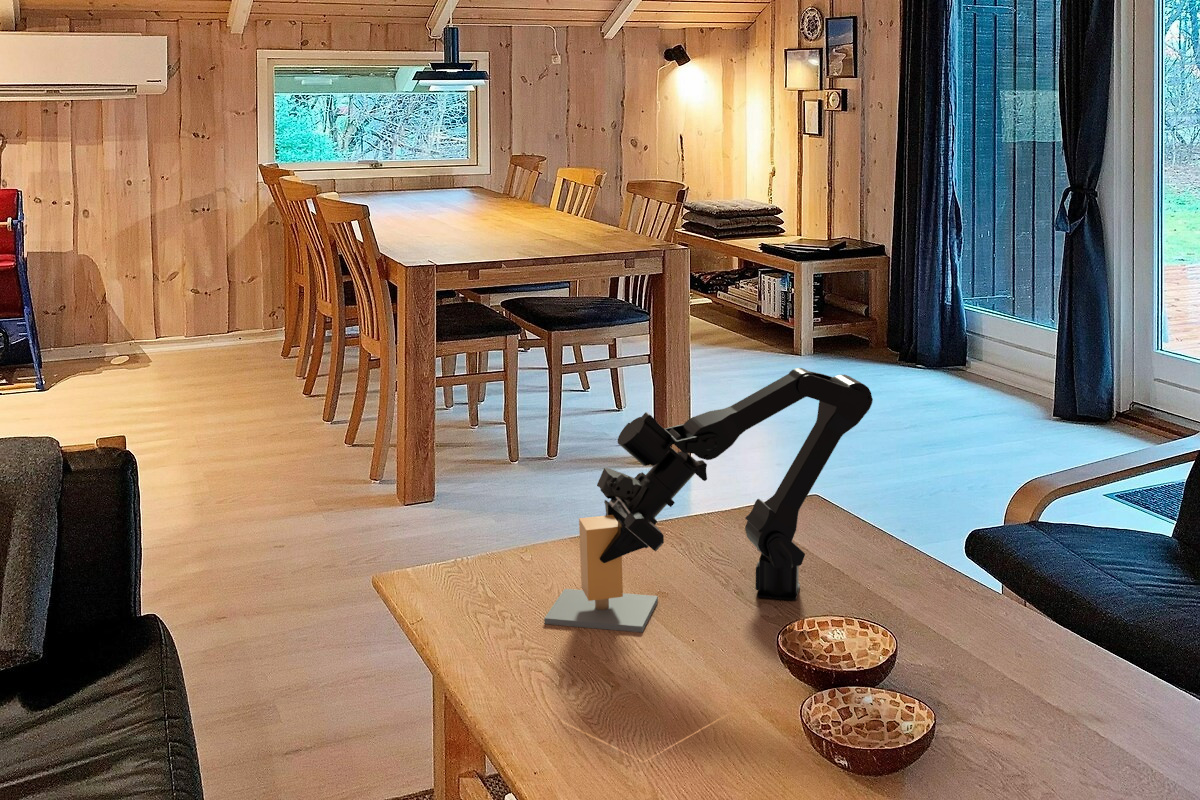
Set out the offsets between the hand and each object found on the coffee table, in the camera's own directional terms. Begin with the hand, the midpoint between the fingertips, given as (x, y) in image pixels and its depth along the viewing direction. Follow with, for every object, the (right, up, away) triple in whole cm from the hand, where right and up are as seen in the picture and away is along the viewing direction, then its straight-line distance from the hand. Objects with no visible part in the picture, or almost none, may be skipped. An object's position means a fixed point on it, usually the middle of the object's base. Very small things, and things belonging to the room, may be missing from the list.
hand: (597, 554), depth 207 cm
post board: (+1, -10, +3) cm, 10 cm away
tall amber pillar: (+1, -6, +2) cm, 7 cm away
